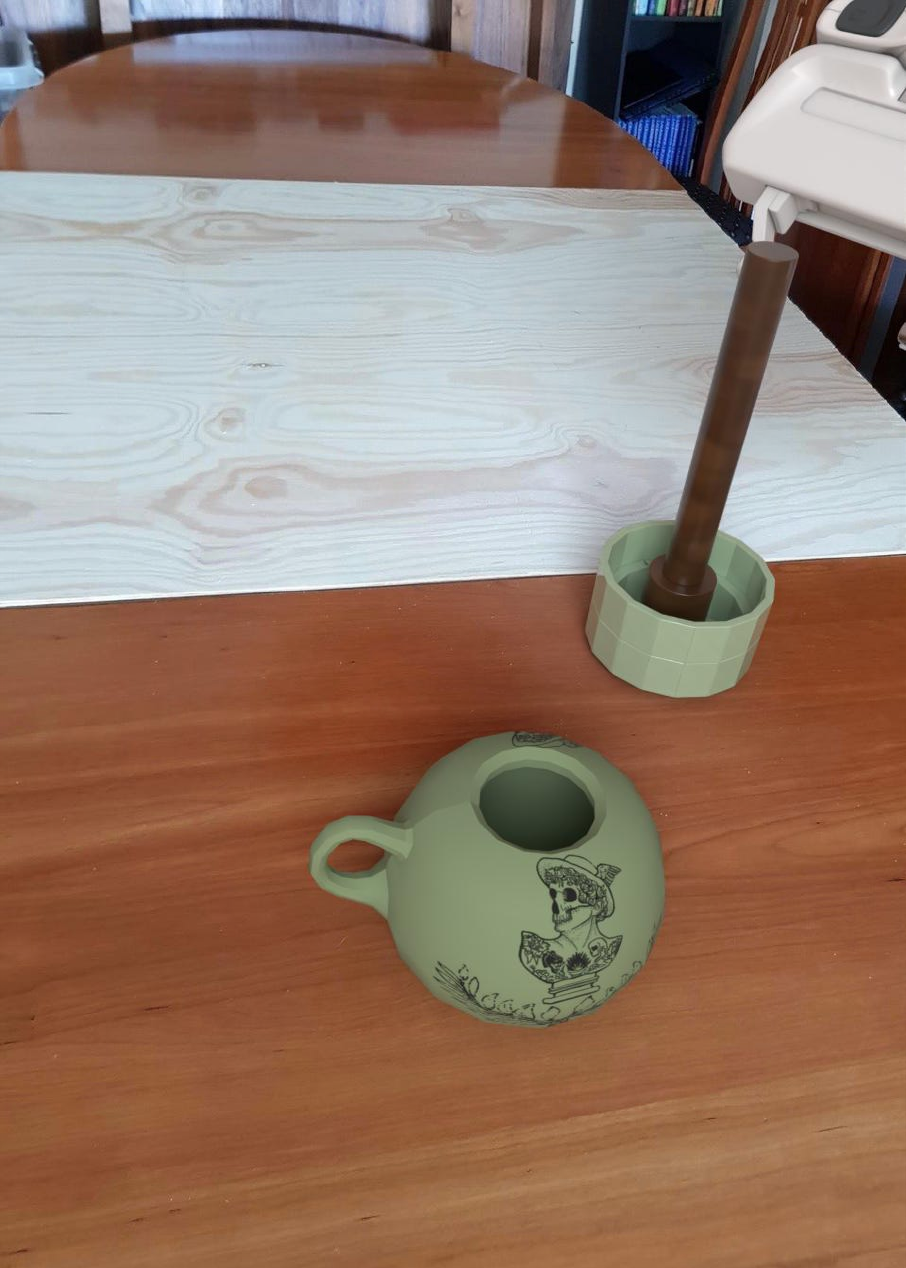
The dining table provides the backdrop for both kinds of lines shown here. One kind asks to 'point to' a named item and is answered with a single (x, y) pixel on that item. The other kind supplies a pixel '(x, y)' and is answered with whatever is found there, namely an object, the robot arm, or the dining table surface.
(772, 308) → the wooden pestle
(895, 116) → the robot arm
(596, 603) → the bowl
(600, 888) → the mug
